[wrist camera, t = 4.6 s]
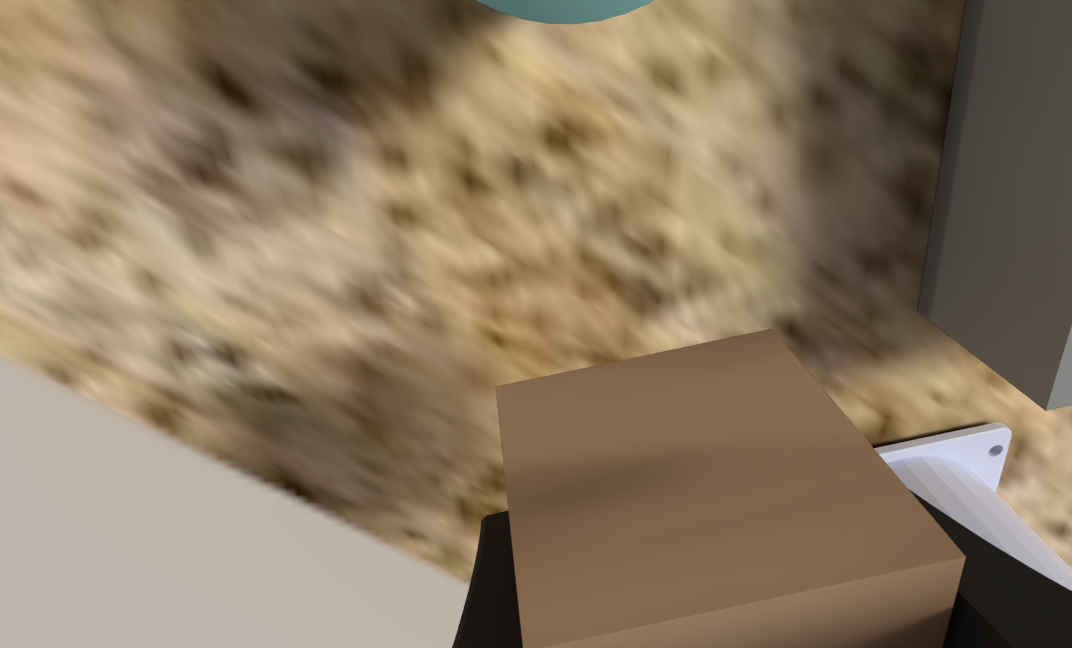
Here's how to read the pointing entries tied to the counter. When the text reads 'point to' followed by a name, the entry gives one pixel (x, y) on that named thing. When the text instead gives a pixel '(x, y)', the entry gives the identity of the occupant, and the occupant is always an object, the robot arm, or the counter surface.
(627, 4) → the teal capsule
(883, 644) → the walnut cube
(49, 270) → the counter surface
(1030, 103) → the tote
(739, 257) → the counter surface
